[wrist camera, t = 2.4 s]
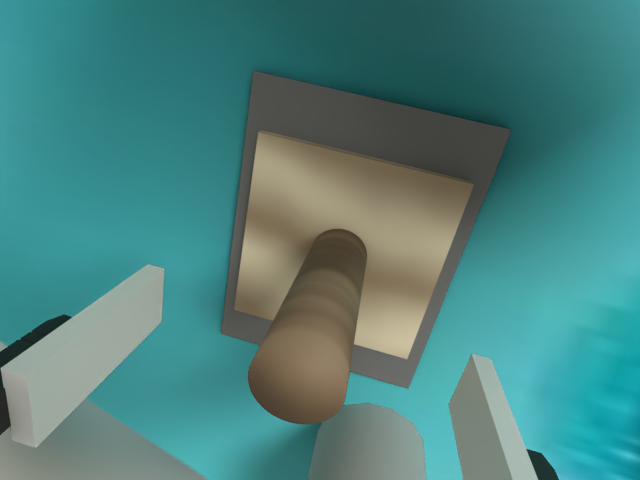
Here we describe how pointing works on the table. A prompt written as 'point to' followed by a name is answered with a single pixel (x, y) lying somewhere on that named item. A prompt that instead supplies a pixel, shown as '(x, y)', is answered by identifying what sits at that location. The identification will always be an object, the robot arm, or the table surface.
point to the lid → (337, 265)
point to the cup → (367, 446)
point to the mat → (375, 141)
